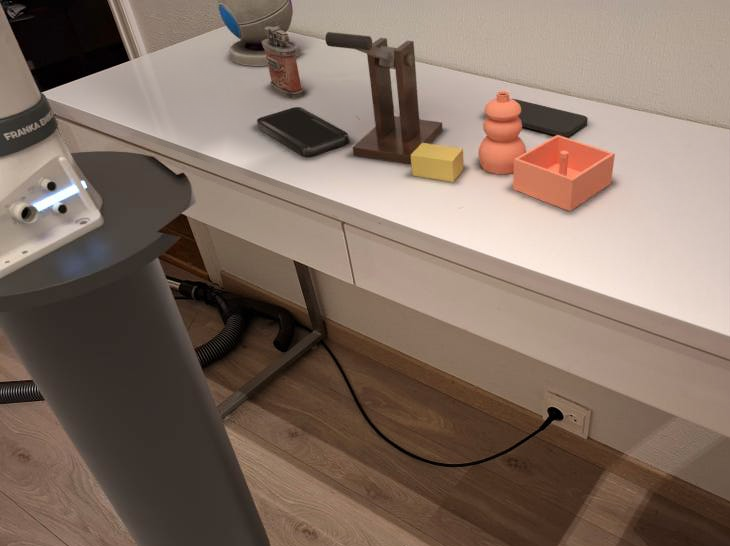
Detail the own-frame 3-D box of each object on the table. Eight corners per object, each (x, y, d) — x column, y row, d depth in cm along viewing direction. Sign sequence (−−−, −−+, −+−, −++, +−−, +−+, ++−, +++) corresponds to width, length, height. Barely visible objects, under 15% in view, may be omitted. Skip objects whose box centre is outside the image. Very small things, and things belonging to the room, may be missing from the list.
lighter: (266, 87, 117) (253, 25, 110) (284, 82, 118) (271, 20, 112) (290, 99, 112) (278, 36, 106) (308, 94, 114) (297, 31, 107)
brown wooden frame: (411, 164, 94) (402, 62, 85) (353, 155, 96) (338, 55, 87) (442, 130, 102) (438, 34, 93) (389, 123, 105) (379, 28, 95)
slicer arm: (365, 53, 79) (367, 31, 79) (324, 48, 81) (325, 26, 80) (413, 71, 92) (415, 52, 92) (377, 67, 94) (378, 48, 93)
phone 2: (509, 97, 110) (590, 116, 103) (509, 102, 110) (590, 122, 104) (483, 112, 105) (566, 133, 99) (483, 117, 106) (566, 139, 99)
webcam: (312, 54, 129) (297, -34, 119) (252, 71, 123) (231, -21, 112) (277, 39, 136) (260, -46, 126) (219, 54, 130) (196, -34, 120)
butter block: (453, 182, 90) (452, 161, 88) (412, 175, 92) (410, 154, 90) (463, 169, 93) (463, 148, 91) (423, 163, 94) (422, 142, 92)
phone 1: (304, 150, 95) (254, 119, 103) (306, 158, 96) (255, 126, 104) (351, 134, 99) (299, 105, 107) (352, 141, 99) (300, 112, 108)
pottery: (611, 183, 89) (620, 110, 83) (569, 211, 84) (576, 135, 77) (505, 146, 98) (506, 77, 91) (462, 169, 93) (460, 98, 86)
